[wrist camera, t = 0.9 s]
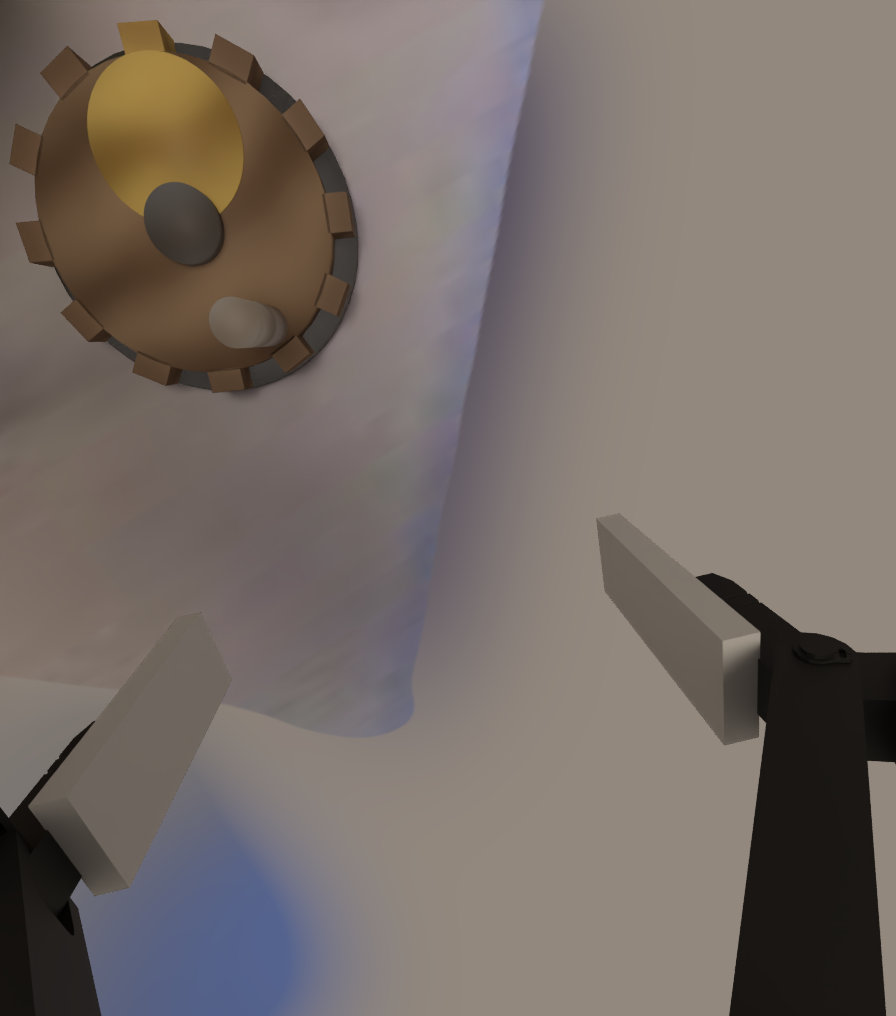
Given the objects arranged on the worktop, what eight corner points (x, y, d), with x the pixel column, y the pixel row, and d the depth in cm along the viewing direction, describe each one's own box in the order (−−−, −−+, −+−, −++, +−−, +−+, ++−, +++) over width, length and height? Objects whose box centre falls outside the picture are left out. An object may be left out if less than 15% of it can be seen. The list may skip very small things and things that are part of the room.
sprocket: (-37, 188, 28) (-198, 135, 20) (200, -45, 25) (115, -202, 18) (201, 443, 33) (142, 473, 26) (414, 273, 31) (415, 253, 24)
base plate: (-24, 193, 29) (-36, 189, 28) (209, -34, 26) (203, -44, 25) (207, 442, 35) (202, 444, 34) (416, 276, 32) (416, 274, 31)
